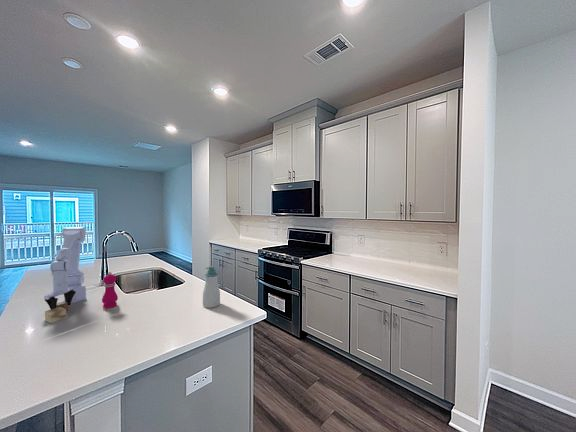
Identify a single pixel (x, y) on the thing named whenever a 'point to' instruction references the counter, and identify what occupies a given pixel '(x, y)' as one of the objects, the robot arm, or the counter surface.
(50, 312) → the oak base
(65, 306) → the walnut block
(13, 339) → the counter surface
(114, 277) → the pepper mill
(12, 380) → the counter surface
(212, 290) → the soap bottle
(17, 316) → the counter surface
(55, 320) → the slate mat
